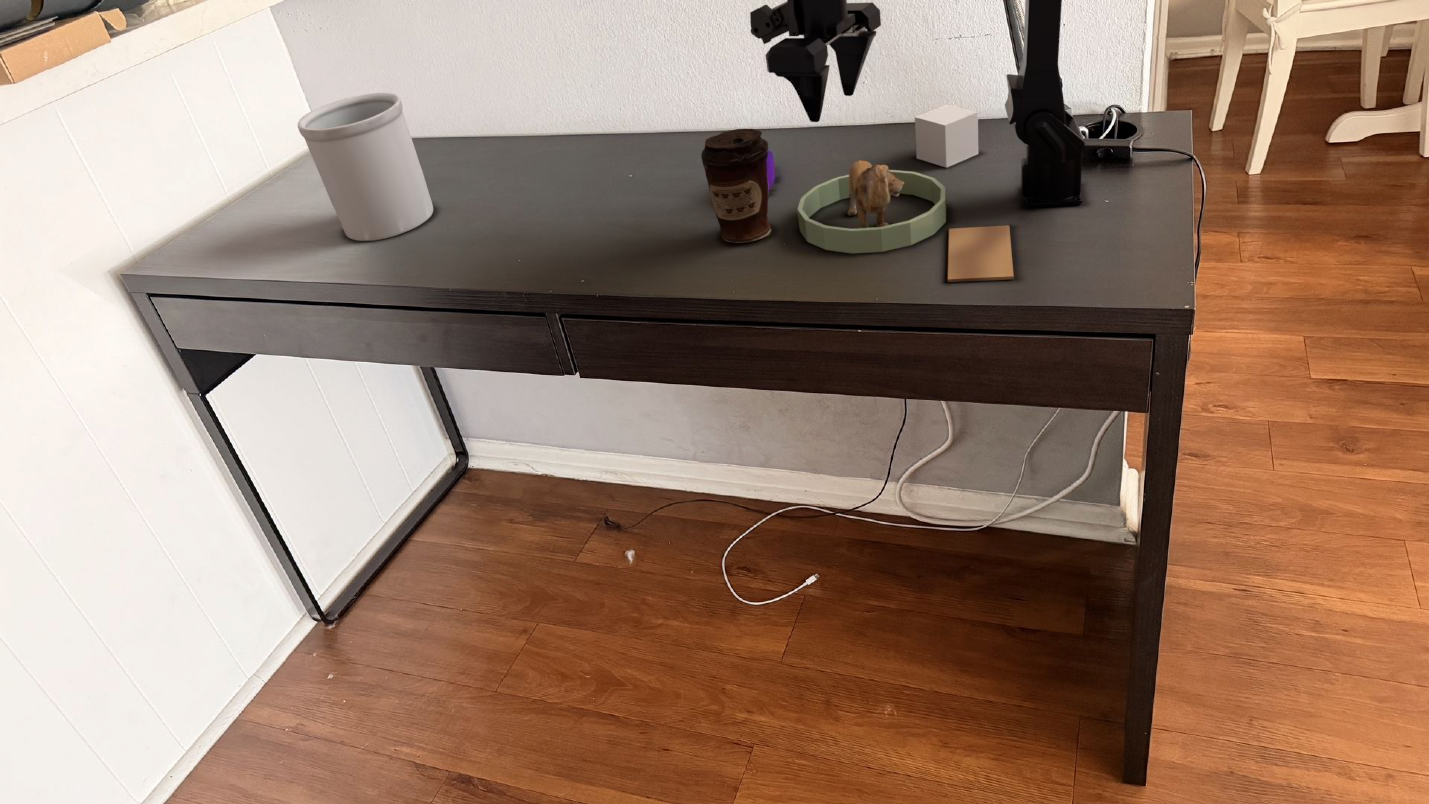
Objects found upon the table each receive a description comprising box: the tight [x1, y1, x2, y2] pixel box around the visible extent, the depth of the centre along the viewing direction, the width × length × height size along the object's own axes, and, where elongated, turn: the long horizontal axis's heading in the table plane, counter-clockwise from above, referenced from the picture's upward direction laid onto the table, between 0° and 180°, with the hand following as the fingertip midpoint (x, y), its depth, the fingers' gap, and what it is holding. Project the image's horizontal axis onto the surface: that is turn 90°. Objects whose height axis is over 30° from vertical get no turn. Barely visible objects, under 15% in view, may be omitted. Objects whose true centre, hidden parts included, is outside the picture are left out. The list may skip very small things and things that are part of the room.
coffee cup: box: [700, 128, 772, 244], centre depth 129 cm, size 9×8×13 cm
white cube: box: [914, 103, 979, 169], centre depth 142 cm, size 6×6×6 cm
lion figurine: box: [847, 159, 904, 228], centre depth 128 cm, size 15×5×9 cm, turn 13°
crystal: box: [767, 149, 776, 191], centre depth 145 cm, size 5×5×15 cm
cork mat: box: [947, 224, 1014, 283], centre depth 118 cm, size 7×13×1 cm, turn 169°
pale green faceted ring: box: [796, 169, 947, 254], centre depth 129 cm, size 18×18×3 cm
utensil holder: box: [297, 92, 434, 242], centre depth 151 cm, size 15×15×18 cm
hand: (832, 108), depth 125 cm, fingers open, 9 cm apart
